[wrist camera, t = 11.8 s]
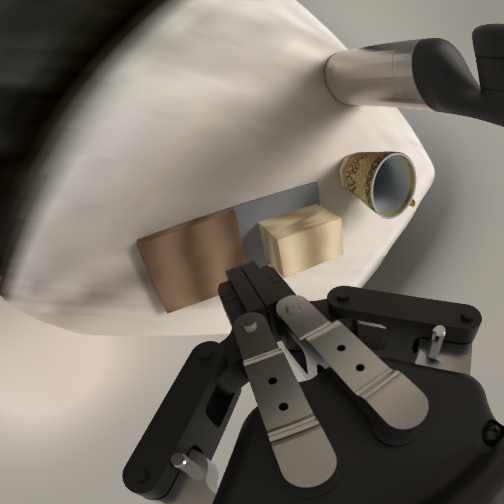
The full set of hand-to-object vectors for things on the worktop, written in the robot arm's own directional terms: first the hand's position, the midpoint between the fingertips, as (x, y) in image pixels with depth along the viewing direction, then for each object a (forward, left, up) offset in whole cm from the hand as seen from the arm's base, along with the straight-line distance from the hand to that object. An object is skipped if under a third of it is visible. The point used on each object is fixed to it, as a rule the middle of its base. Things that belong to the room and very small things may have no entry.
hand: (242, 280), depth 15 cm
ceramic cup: (-29, +7, -27) cm, 40 cm away
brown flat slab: (+1, +12, -26) cm, 29 cm away
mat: (-13, +11, -26) cm, 31 cm away
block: (-14, +12, -26) cm, 32 cm away
